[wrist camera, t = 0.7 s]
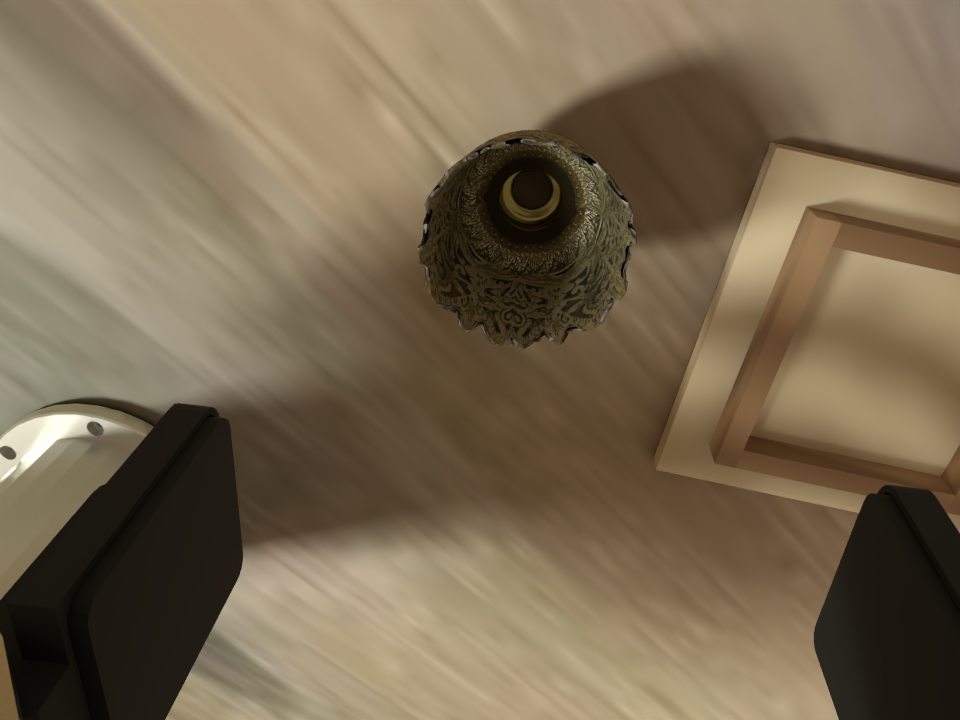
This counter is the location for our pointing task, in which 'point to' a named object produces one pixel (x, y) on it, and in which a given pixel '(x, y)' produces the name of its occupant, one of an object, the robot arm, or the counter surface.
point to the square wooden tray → (830, 340)
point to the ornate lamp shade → (527, 241)
